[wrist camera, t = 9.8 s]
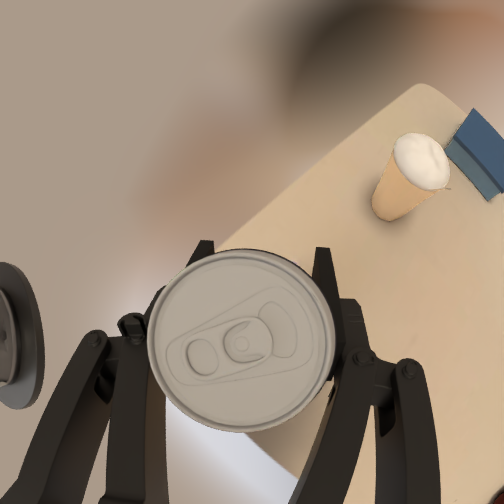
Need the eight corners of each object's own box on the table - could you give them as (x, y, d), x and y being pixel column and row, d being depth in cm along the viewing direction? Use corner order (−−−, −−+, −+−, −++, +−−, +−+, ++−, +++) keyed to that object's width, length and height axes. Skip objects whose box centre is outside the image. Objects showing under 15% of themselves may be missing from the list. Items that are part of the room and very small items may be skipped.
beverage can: (315, 349, 17) (374, 400, 6) (238, 377, 18) (179, 460, 6) (285, 273, 19) (296, 205, 7) (209, 302, 19) (112, 280, 7)
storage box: (441, 151, 24) (454, 134, 20) (462, 122, 24) (473, 107, 21) (488, 203, 22) (505, 191, 18) (503, 167, 22) (517, 155, 19)
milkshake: (368, 237, 22) (417, 186, 13) (361, 182, 24) (396, 112, 14) (412, 237, 22) (474, 192, 12) (403, 184, 23) (450, 123, 13)
